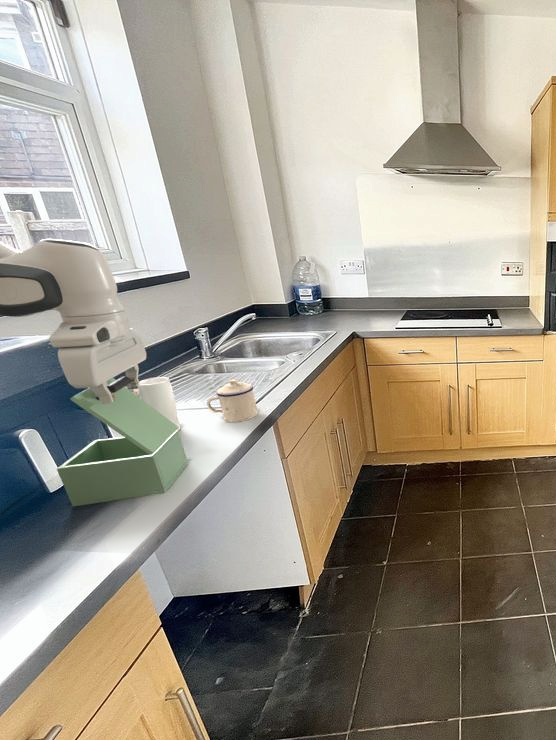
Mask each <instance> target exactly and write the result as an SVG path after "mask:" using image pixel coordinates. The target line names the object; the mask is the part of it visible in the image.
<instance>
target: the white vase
mask: <svg viewBox="0 0 556 740" xmlns="http://www.w3.org/2000/svg"><path fill="white" fill-rule="evenodd" d="M139 383H140V384H139V385H138V390H139V393H140V396H141V399H142V400H143V401H145V402H146V403H147V404H149V405H150V406H151V407H153V408H154V409H155V410H157V411H158V412H159V413H161V414H162V415H163V416H165V417H166V418H167V419H169V420H170V421H171V422H173V423H174V424H175V425H177V426H178V427H179V428H178V429H177V430H178V431H180V429H181V424H180V420H179V415H178V410H177V405H176V399H175V393H174V389H173V387H172V383H171V380H170V378H169V377H167V376H157V377H149V378H145V379H143V380H139ZM177 430H176V431H177Z"/></svg>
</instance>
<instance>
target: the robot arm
mask: <svg viewBox="0 0 556 740" xmlns="http://www.w3.org/2000/svg"><path fill="white" fill-rule="evenodd" d="M125 310H126V309H125V307H124V306H123V305H122V303H121V302H120V300H119V297H118V286H117V282H116V279H115V277H114V274H113V271H112V269H111V266H110V264H109V262H108V260H107V258H106V257H105V255H104V253H103V252H102V250H100V248H98V247H96V246H94V245H93V244H91V243H88V242H83V241H76V240H70V239H58V238H45V239H41V240H39V241H38V242H37V243H36V244H34V245H32V246H31V247H29V248H27V249H25V250H23V251H21V250H18V249H16V248H14V247H12V246H10V245H8V244H6V243H4V242H2V241H0V316H2V317H15V318H22V317H23V318H24V317H30V316H34V315H38V314H41V313H43V312H46V311H57V312H59V314H60V317H61V319H62V320H61V321H62V322H61V323H60V324H59V326H58V327H57V329H56V330H55V331H53V332H52V333H51V334H50V336H49V337H48V338H49V343H50V345H51V347H52V348H58V350H57V358H58V362H59V365H60V367H61V369H62V372H63V373H64V376H65V378H66V380H67V382H68V384H69V385H71V386H72V387H73V388H74V389H88V388H90V389H91V390H92V391H93V392H94V393H95V394H96V395H97V396H98V397H99V400H100V402H101V403H102V404H109V403H112V402H113V401H115V400H116V398H115V395H114V392H110V391H109V390H108V388H107V386H108V384H107V381H108V380H110V379H111V378H115V377H117V376H118V375H120V374H122V373H124V374H125V376H126V377H129V378H130V379H131V383H130V384H128V385H127V386H126V387H128V388H132V387H136V386H138V385H139V384H140V383H139V382H140V380H139V372H140V371H139V369H140V368H139V365H138V364H140V363H142V362H144V361H146V360H147V351H146V347H145V346H144V343H143V340H142V338H141V337H140V334H139V332H138V330H136V329H135V328H133V326H132V324H131V323H129V320H128V317H127V314H126V311H125Z"/></svg>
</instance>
